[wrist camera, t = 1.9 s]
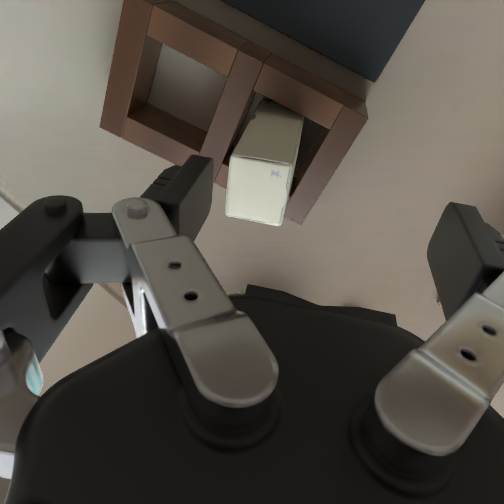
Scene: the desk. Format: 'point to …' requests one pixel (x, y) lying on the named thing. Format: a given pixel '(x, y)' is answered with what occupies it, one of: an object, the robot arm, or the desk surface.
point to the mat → (340, 27)
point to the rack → (232, 98)
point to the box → (264, 164)
